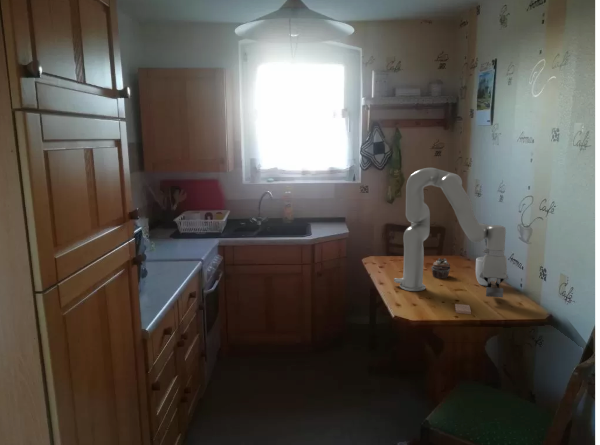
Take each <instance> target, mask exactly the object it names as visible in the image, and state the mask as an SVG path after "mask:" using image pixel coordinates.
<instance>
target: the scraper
mask: <svg viewBox="0 0 600 445" xmlns="http://www.w3.org/2000/svg"><path fill="white" fill-rule="evenodd" d="M495 283H496V281H495V282H494V281H491V288H490V287H487V286H485V288H486V289H485V291H486V292H485V296H486V297H489V298H491V297H493V298H504V288H502V287H499V288H498V287H497V285H496V284H495Z"/></svg>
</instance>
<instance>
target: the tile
mask: <svg viewBox="0 0 600 445" xmlns="http://www.w3.org/2000/svg"><path fill="white" fill-rule="evenodd" d="M454 308H455V313H456V314H465V315H471V314H472V311H471V307H470V305H469V304H459V303H455V304H454Z"/></svg>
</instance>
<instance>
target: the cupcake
mask: <svg viewBox="0 0 600 445" xmlns="http://www.w3.org/2000/svg"><path fill="white" fill-rule="evenodd" d="M450 266H451V265H450V263H449V262H448V260H447V258H446V257H445V258H440V257H439V258H438V259H437V260H436V261H434V262H433V265H432V266H431V274H432V277H433V278H435V279H448V277H449V273H450V271H451V267H450Z"/></svg>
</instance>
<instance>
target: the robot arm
mask: <svg viewBox="0 0 600 445" xmlns="http://www.w3.org/2000/svg"><path fill="white" fill-rule="evenodd" d="M462 185H463V180H462V178H461V176H459V174H456V173H453V172H449V171H447V170H443V169H438V168H435V167H425V168H421V169H418V170H416V171H414V172H413V173H412V174H410V175H409V177H408V178H407V181H406V185H405V218H406V220H407V221H408V222H409V223H410V226H408V227H407V228H406V229H405V230H404V232H403V237H402V238H403V239H402V240H403V241H402V242H403V273H402V275H403V276H402V277H400V278H397V277H394V278H393V282H394V283H396V284H399V287H400V289H401V290H404V291H408V292H409V291H410V292H421V291H424V290H425V289H426V284H424V283H423V280H424V259H425V258H424V256H425V254H424V253H425V252H424V251H425V250H424V241H426V240H427V239H428V238H429V236H430V231H431V230H430V229H431V228H430V226H431V225H430V222H431V221H430V220H431V218H430V217H431V212H430V208H429V206H428V205H427V203H426V202H425V193H424V192H425V191H424V188H426V187H428V186H433V187H435V188H436V187H437V188H440V189H441V191H442V192H443V194H444V196H445V197H446V199H447V201H448V202H449V204H450V205H451V208H452V209H453V211H454V214H455V216H456V218H457V221H458V224H459V226H460V228H461V229H462V231H463V232H464V234H465V235H466V237H467V238H468V240H469V241H471V242H472V243H481V242H482V241H483V240H486V248H485V249H483V250H482V252H483V253H485V254H484V256H483V257H484V260H483V267H482V272H481V274H480V278H482V279H484V280H485V281H486V282H487V283H488V285H487V286H486V287H490V288H491V278H497V279H496V281H495V284H496V285H497V287H498V288H500V284H501V283H503V282H504V281H506V280H509V276H508V265H507V263H508V262H507V256H506V255H505V247H506V233H507V232H506V231H507V230H506V227H505V226H503V225H500V224H499V225H498V224H487V223H482V222H478V220H477V218H476V216H475V213H474V211H473V204H472V200H471V199H470V197H469V194H467V192H466V190H465V189H464V187H463V186H462Z"/></svg>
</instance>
